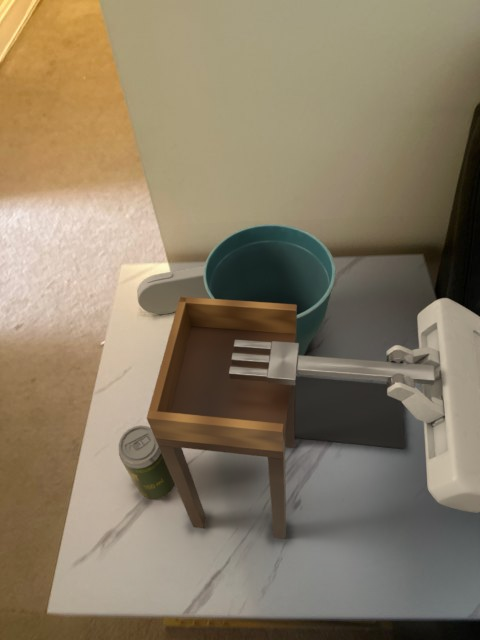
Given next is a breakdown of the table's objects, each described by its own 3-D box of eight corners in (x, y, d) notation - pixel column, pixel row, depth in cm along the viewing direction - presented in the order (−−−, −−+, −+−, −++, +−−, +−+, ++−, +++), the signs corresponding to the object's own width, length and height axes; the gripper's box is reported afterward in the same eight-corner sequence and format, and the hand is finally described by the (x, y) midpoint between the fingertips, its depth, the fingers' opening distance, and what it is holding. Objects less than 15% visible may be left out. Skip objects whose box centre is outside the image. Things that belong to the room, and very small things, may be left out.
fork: (431, 358, 51) (433, 352, 50) (434, 397, 49) (436, 391, 48) (235, 344, 54) (234, 338, 53) (229, 380, 51) (228, 374, 50)
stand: (295, 438, 80) (296, 304, 56) (285, 539, 71) (282, 432, 48) (212, 429, 81) (179, 296, 58) (193, 527, 73) (146, 418, 49)
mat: (402, 386, 83) (402, 385, 83) (403, 449, 77) (404, 448, 77) (255, 374, 87) (254, 372, 86) (246, 433, 81) (245, 431, 80)
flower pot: (341, 380, 85) (351, 310, 71) (223, 399, 84) (210, 332, 71) (315, 290, 96) (319, 215, 82) (210, 306, 95) (197, 233, 82)
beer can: (163, 456, 79) (146, 415, 70) (184, 485, 77) (169, 447, 67) (130, 479, 78) (108, 440, 68) (150, 509, 75) (130, 474, 65)
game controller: (254, 288, 97) (251, 255, 91) (256, 298, 96) (254, 265, 89) (142, 308, 96) (131, 275, 90) (143, 318, 95) (132, 286, 88)
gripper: (519, 316, 57) (409, 262, 54) (559, 516, 45) (420, 465, 41) (473, 344, 62) (369, 297, 58) (498, 533, 50) (368, 489, 46)
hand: (390, 369), depth 50 cm, fingers closed on fork
